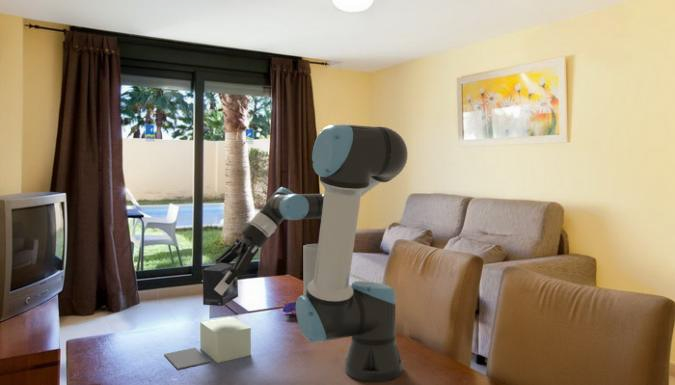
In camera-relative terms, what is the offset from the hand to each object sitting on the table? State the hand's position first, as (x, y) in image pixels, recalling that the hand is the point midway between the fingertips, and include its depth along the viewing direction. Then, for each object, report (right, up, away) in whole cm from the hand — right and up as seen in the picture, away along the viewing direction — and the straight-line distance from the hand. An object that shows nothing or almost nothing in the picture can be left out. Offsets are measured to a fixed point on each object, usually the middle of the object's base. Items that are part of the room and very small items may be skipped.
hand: (211, 288), depth 143 cm
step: (+4, -19, +1) cm, 19 cm away
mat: (-6, -19, -5) cm, 20 cm away
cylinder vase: (+30, -18, +46) cm, 58 cm away
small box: (+3, -4, +2) cm, 5 cm away
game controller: (+21, -18, +38) cm, 47 cm away
